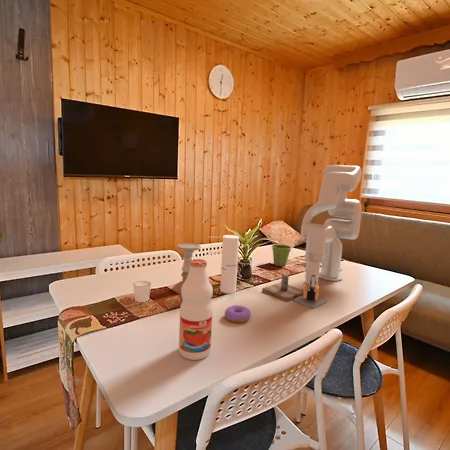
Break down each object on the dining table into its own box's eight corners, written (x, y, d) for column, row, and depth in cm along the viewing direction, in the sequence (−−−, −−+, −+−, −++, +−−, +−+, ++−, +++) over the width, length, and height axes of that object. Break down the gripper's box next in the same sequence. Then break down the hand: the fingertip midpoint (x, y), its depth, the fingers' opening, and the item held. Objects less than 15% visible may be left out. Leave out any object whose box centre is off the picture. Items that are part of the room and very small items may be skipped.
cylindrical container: (234, 294, 141) (237, 238, 137) (218, 292, 142) (221, 237, 138) (237, 288, 148) (240, 235, 143) (222, 286, 149) (224, 234, 145)
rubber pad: (306, 295, 144) (306, 294, 144) (326, 302, 137) (326, 301, 137) (293, 300, 137) (293, 299, 137) (313, 308, 130) (313, 307, 130)
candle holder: (206, 289, 144) (208, 246, 141) (185, 296, 135) (187, 250, 132) (188, 282, 153) (190, 241, 149) (167, 288, 144) (168, 244, 140)
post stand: (280, 285, 155) (282, 268, 154) (305, 294, 145) (307, 276, 144) (262, 291, 146) (263, 274, 144) (287, 301, 136) (288, 283, 134)
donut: (235, 309, 125) (237, 298, 124) (253, 321, 120) (256, 310, 118) (218, 317, 118) (221, 305, 116) (237, 330, 112) (240, 319, 111)
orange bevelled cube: (302, 293, 140) (303, 282, 139) (317, 294, 139) (318, 283, 138) (303, 298, 134) (304, 286, 133) (318, 300, 133) (319, 288, 132)
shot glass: (153, 298, 132) (154, 282, 131) (144, 304, 126) (144, 287, 124) (139, 295, 134) (139, 279, 133) (129, 301, 128) (129, 284, 127)
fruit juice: (204, 341, 101) (207, 255, 96) (215, 357, 93) (219, 264, 88) (175, 346, 97) (177, 257, 93) (184, 363, 89) (187, 267, 84)
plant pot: (291, 268, 184) (293, 249, 182) (271, 267, 184) (272, 248, 182) (288, 262, 196) (289, 244, 194) (268, 261, 196) (270, 243, 194)
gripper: (304, 250, 143) (300, 289, 146) (305, 260, 126) (301, 303, 129) (322, 252, 141) (317, 291, 144) (325, 262, 124) (320, 306, 127)
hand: (310, 296), depth 137 cm, fingers closed on orange bevelled cube, 6 cm apart
